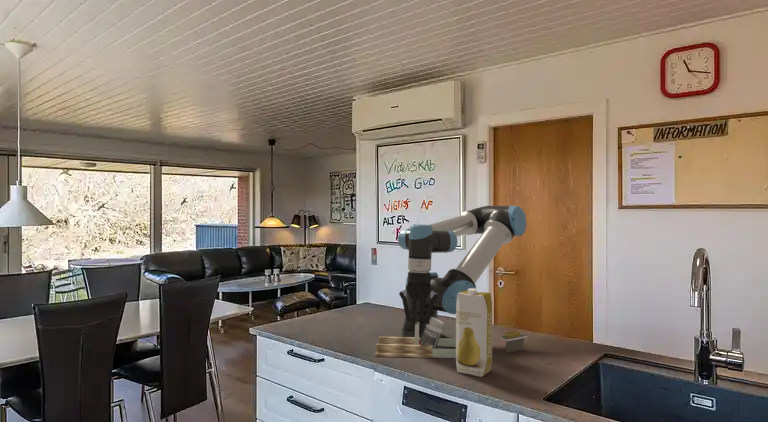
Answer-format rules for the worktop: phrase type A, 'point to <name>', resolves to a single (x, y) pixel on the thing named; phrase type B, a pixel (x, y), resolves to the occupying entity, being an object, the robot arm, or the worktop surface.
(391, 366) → the worktop surface
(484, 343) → the juice carton
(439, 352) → the tray
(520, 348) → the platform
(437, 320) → the pill bottle
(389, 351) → the slot rails
